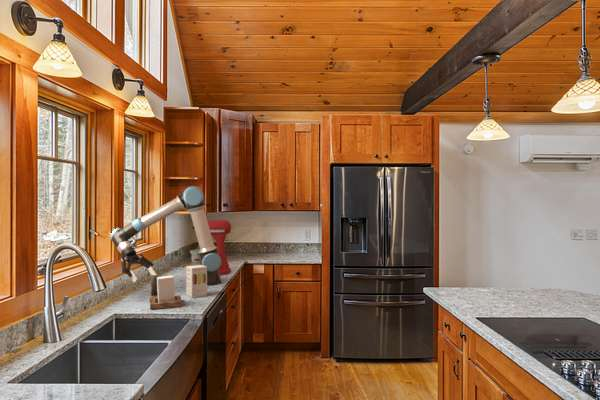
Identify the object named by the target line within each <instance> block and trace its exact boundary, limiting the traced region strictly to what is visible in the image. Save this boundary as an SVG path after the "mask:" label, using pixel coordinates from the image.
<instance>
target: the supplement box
mask: <svg viewBox="0 0 600 400" xmlns="http://www.w3.org/2000/svg"><path fill="white" fill-rule="evenodd" d="M185 284H186V285H185V286H186V287H185V288H186V289H185V292H186V293H185V295H186V296H187V297H190V298H191V299H194V298H199V297H206V296H208V285H207V267H206V266H203V265H195V266H194V265H187V266H186V267H185Z"/></svg>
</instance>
